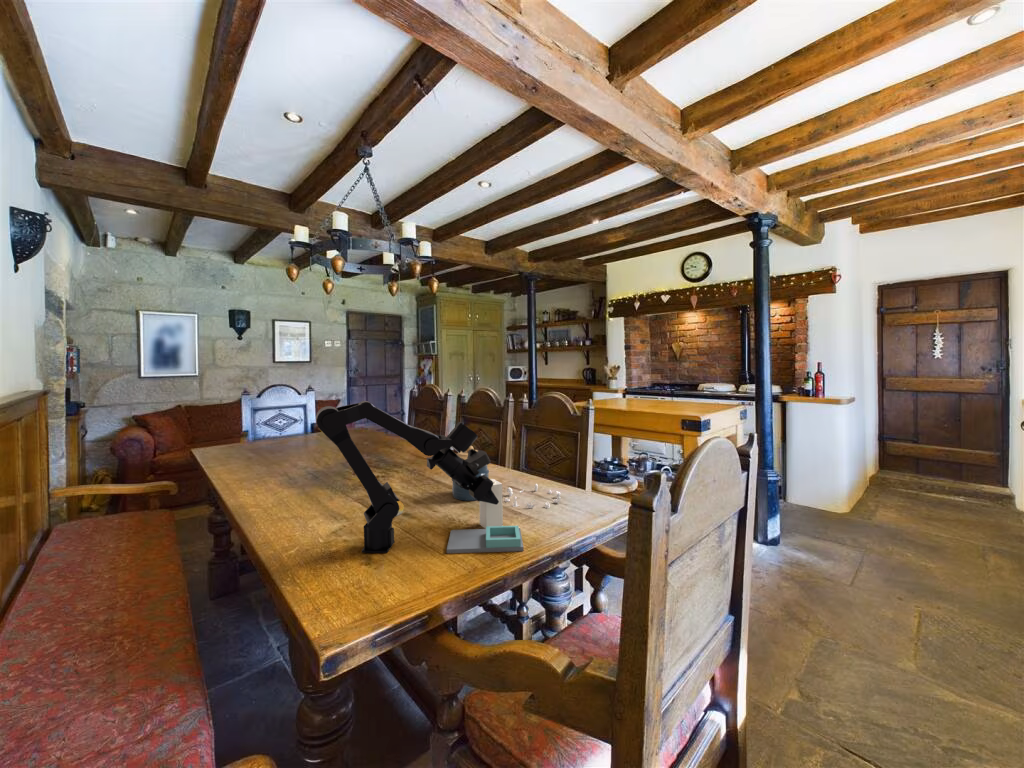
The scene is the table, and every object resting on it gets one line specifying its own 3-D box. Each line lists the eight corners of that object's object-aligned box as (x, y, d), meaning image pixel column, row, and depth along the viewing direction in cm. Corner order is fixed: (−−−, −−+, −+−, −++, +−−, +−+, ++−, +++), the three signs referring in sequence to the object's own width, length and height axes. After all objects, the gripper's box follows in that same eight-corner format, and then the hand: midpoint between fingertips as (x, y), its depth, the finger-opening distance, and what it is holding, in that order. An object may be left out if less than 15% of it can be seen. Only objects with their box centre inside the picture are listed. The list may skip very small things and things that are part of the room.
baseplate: (446, 553, 105) (446, 541, 105) (451, 533, 117) (451, 522, 117) (523, 551, 106) (523, 539, 106) (520, 531, 118) (520, 520, 118)
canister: (445, 498, 146) (444, 448, 145) (463, 488, 158) (462, 441, 157) (478, 503, 141) (478, 450, 140) (495, 492, 153) (494, 443, 152)
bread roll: (404, 507, 139) (403, 495, 139) (403, 517, 130) (403, 504, 130) (377, 509, 137) (377, 496, 137) (375, 519, 129) (374, 506, 128)
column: (486, 530, 119) (486, 483, 118) (479, 524, 124) (479, 479, 123) (502, 526, 121) (502, 481, 121) (495, 521, 126) (494, 476, 125)
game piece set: (492, 501, 145) (492, 489, 145) (532, 488, 159) (532, 477, 159) (535, 515, 131) (535, 503, 131) (574, 499, 145) (574, 488, 145)
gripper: (485, 448, 110) (523, 484, 116) (460, 437, 127) (495, 468, 133) (457, 483, 107) (497, 517, 113) (435, 466, 124) (471, 497, 130)
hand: (490, 498), depth 122 cm, fingers open, 9 cm apart
